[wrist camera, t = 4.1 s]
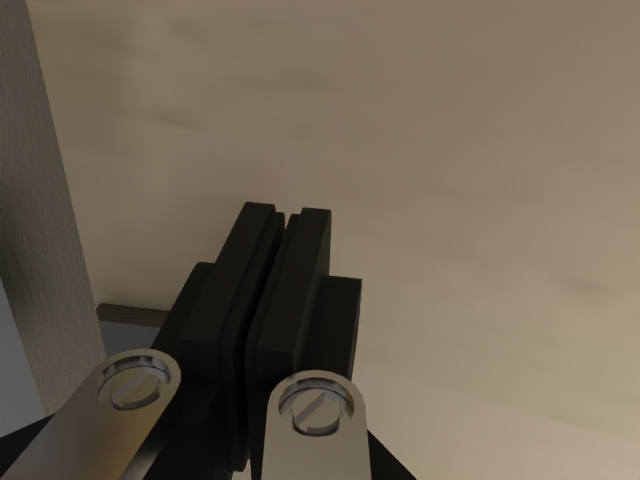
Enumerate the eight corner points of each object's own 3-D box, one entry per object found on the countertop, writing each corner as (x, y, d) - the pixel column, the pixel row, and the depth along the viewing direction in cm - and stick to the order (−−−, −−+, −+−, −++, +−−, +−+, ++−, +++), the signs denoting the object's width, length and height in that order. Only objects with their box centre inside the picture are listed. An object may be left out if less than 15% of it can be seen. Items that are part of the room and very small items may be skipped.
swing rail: (200, 592, 17) (165, 708, 15) (68, 570, 18) (15, 679, 15) (85, -160, 7) (-74, -162, 5) (-212, -172, 8) (-487, -179, 5)
